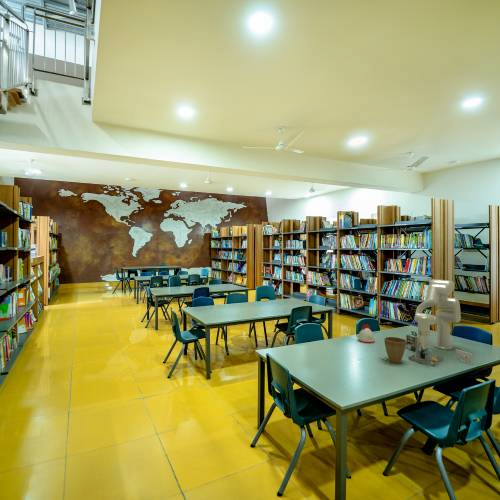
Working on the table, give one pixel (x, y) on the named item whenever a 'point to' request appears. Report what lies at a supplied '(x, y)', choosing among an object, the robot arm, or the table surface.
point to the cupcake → (366, 335)
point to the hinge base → (434, 361)
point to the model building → (412, 341)
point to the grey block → (427, 354)
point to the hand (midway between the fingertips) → (423, 357)
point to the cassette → (465, 359)
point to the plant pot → (395, 348)
